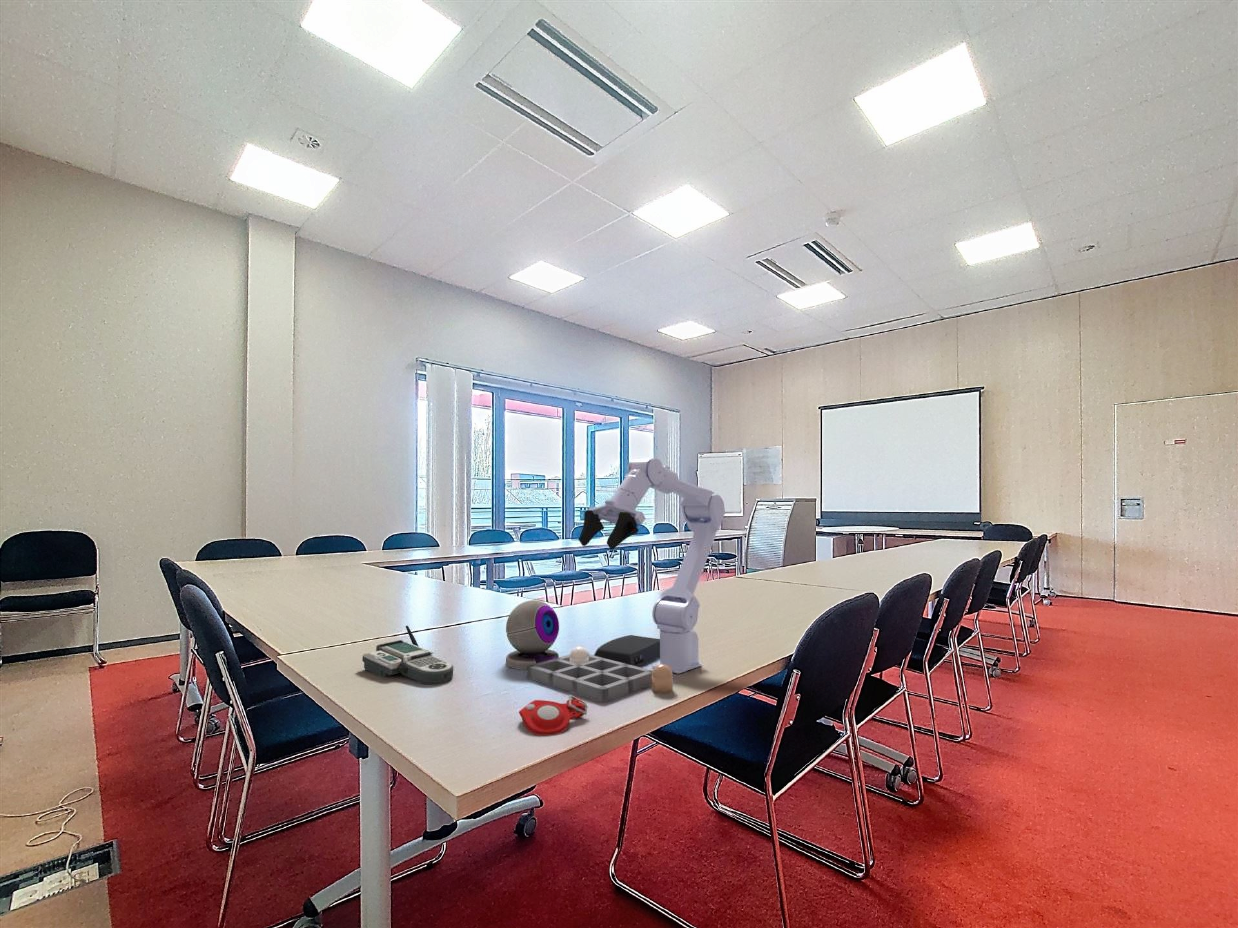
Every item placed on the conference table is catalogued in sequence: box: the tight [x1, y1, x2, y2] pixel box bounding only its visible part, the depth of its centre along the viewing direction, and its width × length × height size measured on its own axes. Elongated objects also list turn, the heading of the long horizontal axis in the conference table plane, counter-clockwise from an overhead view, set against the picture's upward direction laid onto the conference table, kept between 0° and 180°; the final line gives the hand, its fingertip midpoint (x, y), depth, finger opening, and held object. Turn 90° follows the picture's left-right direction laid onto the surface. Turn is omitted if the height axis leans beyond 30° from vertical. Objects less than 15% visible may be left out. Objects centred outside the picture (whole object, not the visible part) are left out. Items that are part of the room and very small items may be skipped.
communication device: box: [361, 625, 454, 685], centre depth 133 cm, size 12×24×9 cm, turn 53°
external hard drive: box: [593, 634, 660, 668], centre depth 147 cm, size 13×19×4 cm
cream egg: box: [569, 646, 589, 664], centre depth 136 cm, size 4×4×5 cm
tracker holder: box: [518, 694, 589, 736], centre depth 104 cm, size 12×4×10 cm
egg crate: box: [526, 653, 653, 704], centre depth 128 cm, size 24×16×2 cm
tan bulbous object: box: [651, 664, 674, 695], centre depth 121 cm, size 4×4×5 cm
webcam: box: [505, 599, 560, 671], centre depth 143 cm, size 13×13×15 cm
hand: (595, 544), depth 119 cm, fingers open, 7 cm apart
